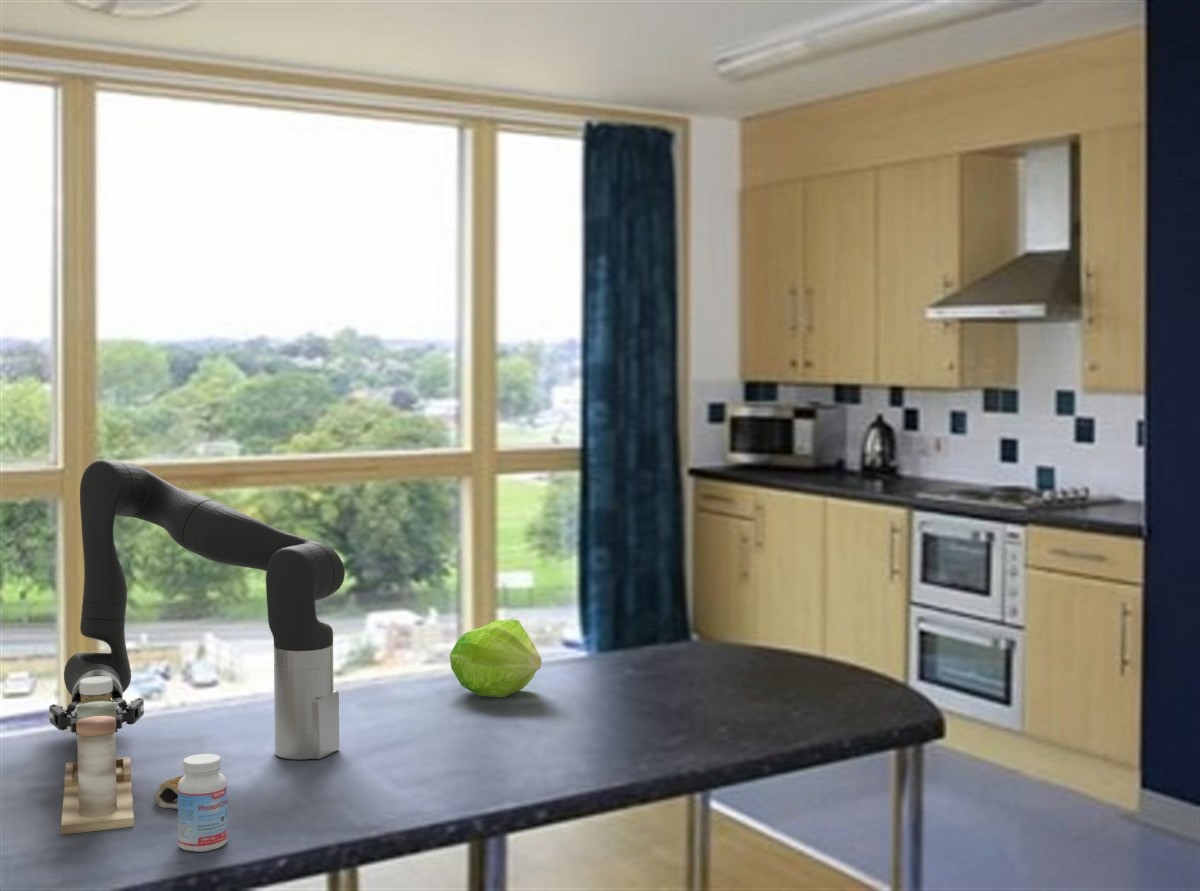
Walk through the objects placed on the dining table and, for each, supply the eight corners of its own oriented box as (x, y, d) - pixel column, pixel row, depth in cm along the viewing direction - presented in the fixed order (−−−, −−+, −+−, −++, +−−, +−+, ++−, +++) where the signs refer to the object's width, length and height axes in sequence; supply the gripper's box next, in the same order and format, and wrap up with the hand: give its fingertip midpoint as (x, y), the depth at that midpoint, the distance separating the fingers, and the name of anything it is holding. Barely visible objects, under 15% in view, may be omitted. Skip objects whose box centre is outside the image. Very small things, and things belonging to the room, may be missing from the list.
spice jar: (117, 770, 195) (115, 680, 194) (84, 775, 192) (83, 684, 191) (109, 762, 199) (108, 673, 198) (77, 767, 196) (76, 677, 195)
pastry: (199, 788, 194) (198, 762, 194) (234, 795, 191) (233, 769, 190) (149, 807, 185) (149, 780, 185) (185, 815, 182) (185, 787, 182)
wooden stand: (66, 777, 198) (64, 687, 197) (130, 770, 201) (128, 682, 200) (61, 834, 174) (59, 732, 173) (133, 826, 177) (132, 726, 176)
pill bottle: (205, 856, 166) (204, 768, 166) (168, 848, 169) (166, 762, 168) (237, 840, 172) (236, 755, 171) (201, 833, 174) (199, 749, 174)
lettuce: (516, 713, 236) (494, 642, 235) (446, 709, 251) (425, 642, 249) (571, 679, 247) (551, 610, 245) (501, 677, 261) (481, 613, 259)
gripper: (47, 677, 205) (42, 705, 189) (144, 671, 210) (148, 697, 194) (48, 725, 206) (43, 757, 190) (145, 717, 211) (149, 747, 195)
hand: (96, 726), depth 192 cm, fingers closed on spice jar, 4 cm apart
